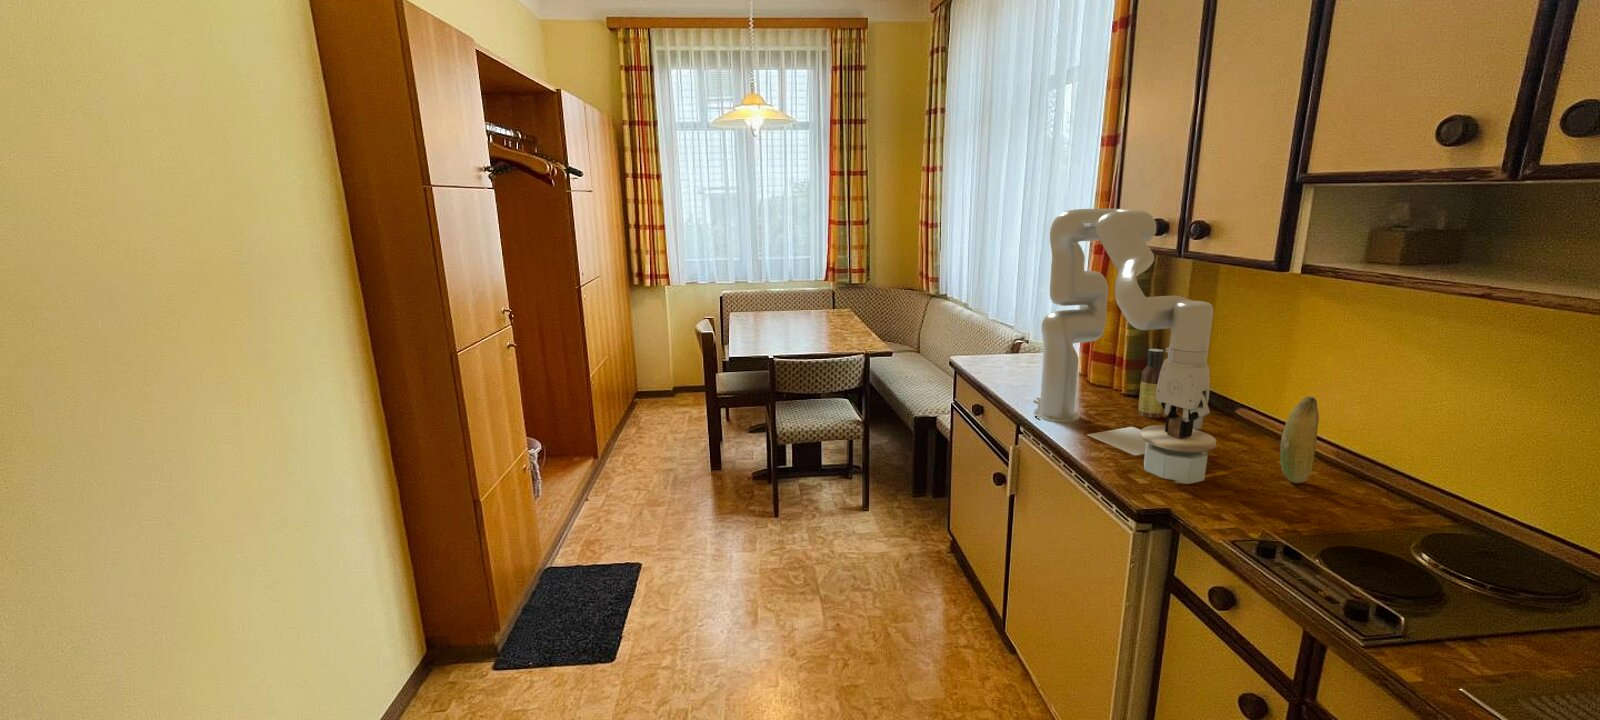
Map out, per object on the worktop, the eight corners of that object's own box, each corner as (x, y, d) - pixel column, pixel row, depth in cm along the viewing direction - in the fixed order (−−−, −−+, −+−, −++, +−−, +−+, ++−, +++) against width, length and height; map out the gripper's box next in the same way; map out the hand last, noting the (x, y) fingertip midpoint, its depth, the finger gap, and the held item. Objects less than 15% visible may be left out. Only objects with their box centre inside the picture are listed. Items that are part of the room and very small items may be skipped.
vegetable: (1303, 490, 140) (1319, 402, 135) (1269, 481, 145) (1283, 396, 140) (1313, 483, 143) (1328, 397, 139) (1280, 474, 148) (1294, 391, 144)
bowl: (1132, 466, 154) (1134, 443, 153) (1169, 459, 158) (1172, 436, 157) (1176, 486, 143) (1179, 461, 142) (1215, 478, 147) (1219, 453, 146)
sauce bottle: (1164, 420, 185) (1172, 353, 181) (1141, 419, 187) (1148, 352, 182) (1157, 413, 192) (1164, 347, 187) (1134, 412, 193) (1141, 347, 188)
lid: (1125, 434, 153) (1128, 414, 152) (1173, 425, 158) (1175, 406, 157) (1181, 456, 139) (1184, 434, 138) (1231, 446, 144) (1234, 425, 143)
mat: (1086, 436, 174) (1086, 434, 174) (1131, 428, 179) (1132, 426, 179) (1134, 457, 159) (1134, 455, 159) (1182, 448, 165) (1183, 446, 165)
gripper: (1144, 350, 150) (1136, 425, 155) (1209, 366, 135) (1198, 448, 140) (1168, 347, 153) (1159, 421, 157) (1234, 362, 138) (1223, 443, 142)
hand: (1178, 433), depth 148 cm, fingers closed on lid, 3 cm apart
